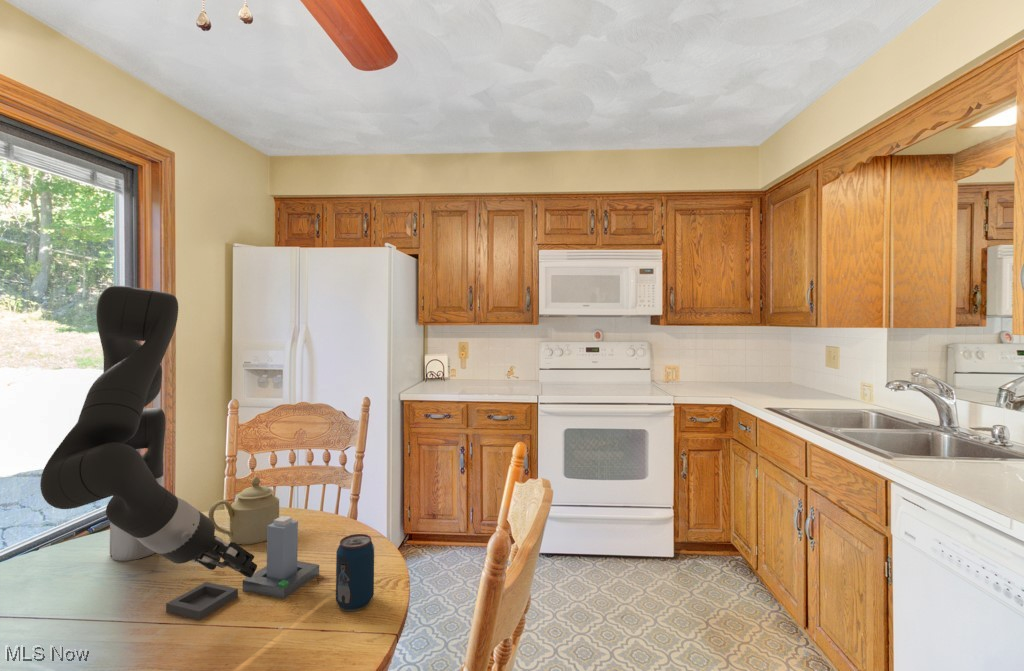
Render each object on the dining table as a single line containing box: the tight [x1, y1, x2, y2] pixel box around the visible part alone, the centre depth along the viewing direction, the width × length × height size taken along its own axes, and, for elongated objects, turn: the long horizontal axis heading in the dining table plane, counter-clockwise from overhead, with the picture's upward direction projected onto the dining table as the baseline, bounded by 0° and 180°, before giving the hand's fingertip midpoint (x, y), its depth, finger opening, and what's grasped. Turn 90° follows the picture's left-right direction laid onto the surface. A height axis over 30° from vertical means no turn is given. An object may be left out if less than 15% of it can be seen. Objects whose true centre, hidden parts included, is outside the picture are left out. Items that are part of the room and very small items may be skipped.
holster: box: [165, 581, 239, 621], centre depth 89 cm, size 8×8×2 cm
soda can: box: [335, 533, 375, 612], centre depth 91 cm, size 7×7×12 cm
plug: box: [266, 515, 299, 581], centre depth 97 cm, size 4×4×13 cm
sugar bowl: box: [208, 476, 280, 545], centre depth 118 cm, size 15×11×15 cm
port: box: [241, 560, 320, 600], centre depth 97 cm, size 10×10×3 cm
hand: (234, 567), depth 86 cm, fingers open, 8 cm apart
